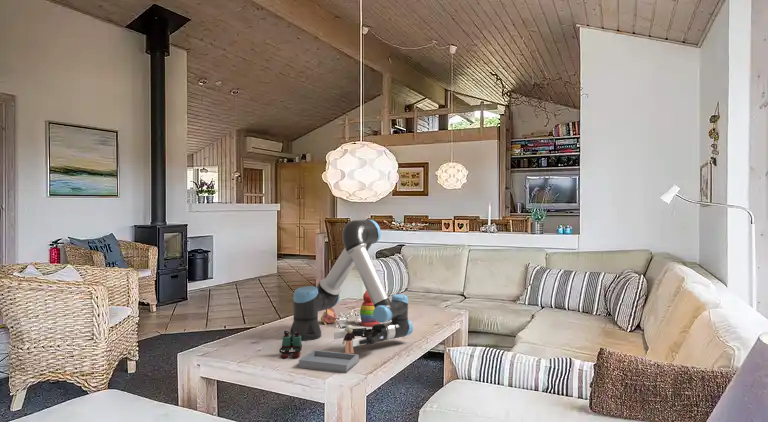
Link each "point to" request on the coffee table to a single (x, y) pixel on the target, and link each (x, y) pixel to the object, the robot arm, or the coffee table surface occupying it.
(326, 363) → the tray
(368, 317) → the stacking bear
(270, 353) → the coffee table surface
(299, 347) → the binoculars
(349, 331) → the grandmother figurine
